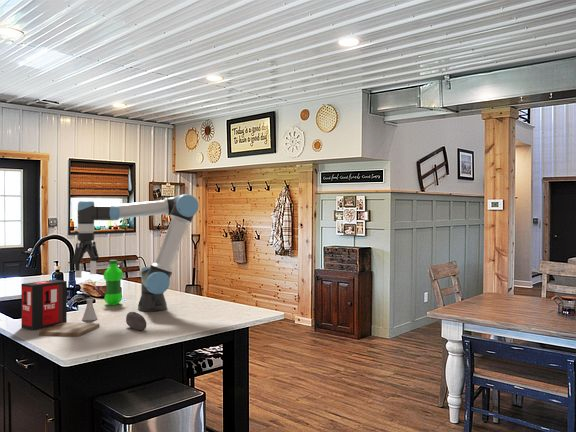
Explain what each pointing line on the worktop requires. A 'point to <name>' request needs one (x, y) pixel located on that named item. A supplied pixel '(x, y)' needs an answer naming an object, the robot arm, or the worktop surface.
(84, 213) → the robot arm
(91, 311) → the flask
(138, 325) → the perforated stone tool
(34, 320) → the cleaning product box
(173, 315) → the worktop surface
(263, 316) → the worktop surface
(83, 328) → the walnut board
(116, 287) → the plastic bottle
